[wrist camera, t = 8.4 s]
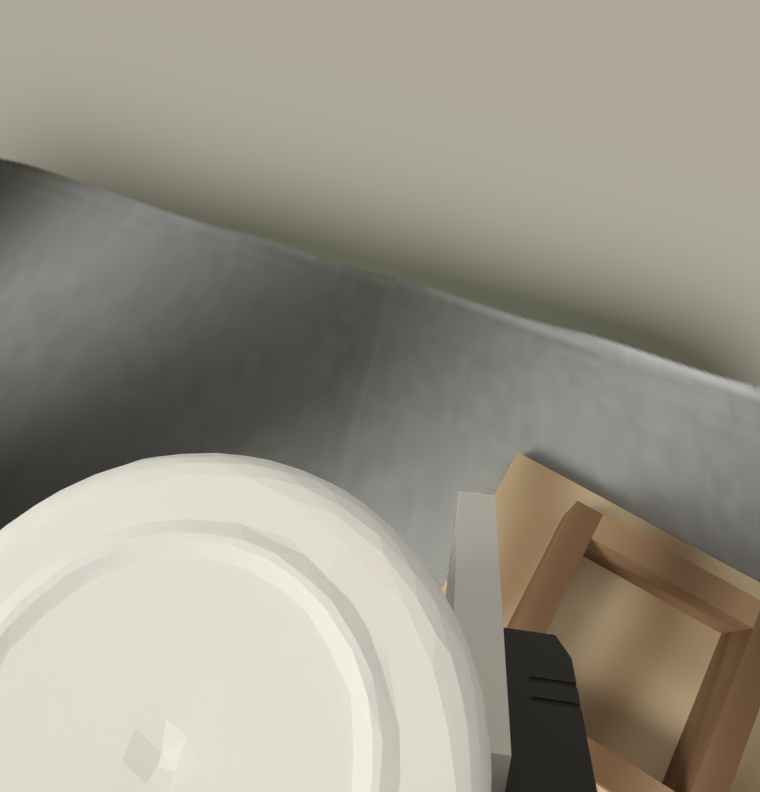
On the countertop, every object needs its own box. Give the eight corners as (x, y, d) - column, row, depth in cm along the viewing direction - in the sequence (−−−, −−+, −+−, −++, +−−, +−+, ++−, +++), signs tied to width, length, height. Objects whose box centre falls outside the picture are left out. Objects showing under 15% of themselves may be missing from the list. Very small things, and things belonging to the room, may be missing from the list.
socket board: (382, 696, 31) (378, 698, 27) (513, 459, 35) (527, 430, 31) (728, 926, 27) (782, 966, 23) (829, 630, 31) (889, 622, 27)
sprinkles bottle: (464, 774, 16) (647, 980, 4) (286, 870, 15) (-166, 1474, 3) (383, 594, 18) (334, 349, 6) (220, 673, 17) (-230, 586, 5)
